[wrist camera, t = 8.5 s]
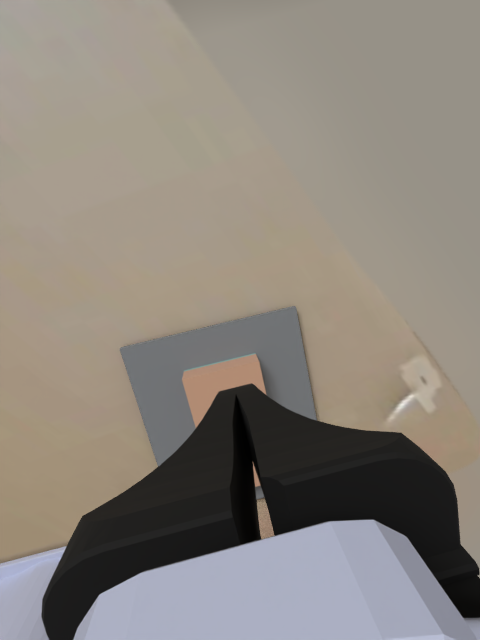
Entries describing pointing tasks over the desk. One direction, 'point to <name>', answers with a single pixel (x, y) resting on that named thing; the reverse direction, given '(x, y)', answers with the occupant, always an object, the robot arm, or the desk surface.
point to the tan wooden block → (220, 384)
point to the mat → (207, 348)
